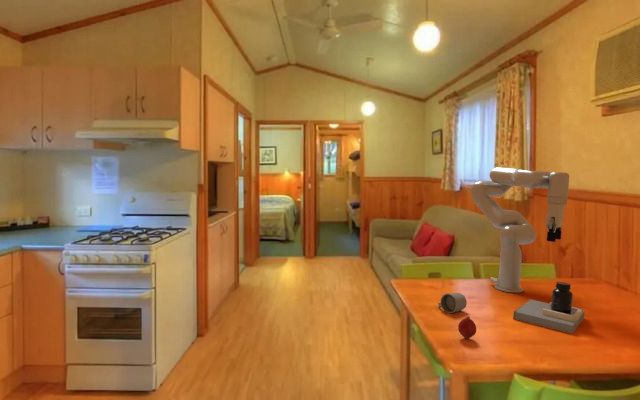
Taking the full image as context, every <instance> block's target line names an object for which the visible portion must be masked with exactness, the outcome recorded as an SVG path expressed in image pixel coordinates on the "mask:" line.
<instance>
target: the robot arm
mask: <svg viewBox="0 0 640 400" xmlns="http://www.w3.org/2000/svg"><path fill="white" fill-rule="evenodd" d="M489 179H490V180H478V181H476V182H474V183H473V184H472V186H471V189H470V196H471V199H472V201H473V203H474V204H475V205H476V207H477V208H478V209H479V210H480V211H481V212H482V213H483V215H484V216H485V217H486V219H487V220H488V221H489V222H490V223H491V225H492V226H493V227H494V228H496V229H498V230H499V229H500V231H499V242H500V244H499V245H500V252H499V253H500V255H499V270H498V277H496V278H495V277H490V278H489V281H490V282H491V283H495V284H494V288H495V289H496V290H498V291H501V292H506V293H512V294H513V293H515V294H518V293H523V292H524V289H523V287H522V286H521V275H522V274H521V273H522V258H523V253H522V249H521V247H520V245H529V244H532V243H534V242H535V241H536V239H537V232H536V230H535V228H534V226H532V224H531V223H530V222H529V221H528V220H527V218H525V217H524V215H523V214H522V213H520V212H519V211H517V210H514V209H504V208H502V207H501V205H499V203H498V202H496V201H495V200H494V199H493V198H499V197H501V196H503V195H505V194H506V193H507V192H508V191H509V190H510V189H511V188H512V187H513V186H514V187H515V186H516V187H521V188H528V189H529V188H530V189H547V198H546V199H547V200H546V204H547V205H548V207H547V211H546V218H545V227H547V233H546V241H547V242H552V243H555V242H556V241H557V240H560V241H561V239H562V226H563V224H564V219H565V218H564V215H565V206H568V199H569V197H568V196H569V186H570V185H569V184H570V174H569V172H562V171H561V172H558V171H557V172H556V171H554V172H553V171H543V170H525V169H524V170H523V169H522V168H518V167H508V166H507V167H506V166H497V167H494V168H493V169H492V170H491V171H490V173H489Z"/></svg>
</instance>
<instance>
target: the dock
mask: <svg viewBox="0 0 640 400" xmlns="http://www.w3.org/2000/svg"><path fill="white" fill-rule="evenodd" d="M551 303H552V301H550V302H549V303H548V302H543V301H540V300H535V299H528V300H527V301H526V302H524V303H523V304H521V305H520V306H519V307H518V308H516V309H515V310H514V311H513V320H517V321H519V322H520V321H521V322H524V323H529V324H531V325H535V326H538V327H539V326H541V327H544V328H548V329H552V330H556V331H559V332H563V333H567V334H571V335H572V334H573V333H574V332H575V331H576V329H578V327H579V326H580V324H581V323H582V322H583V321H584V319H585V311H584V309H583V308H579V307H575V306H572V310H571V315H569V314H565V313H561V312H556V311H552V310H551Z"/></svg>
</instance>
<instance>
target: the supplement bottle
mask: <svg viewBox="0 0 640 400" xmlns="http://www.w3.org/2000/svg"><path fill="white" fill-rule="evenodd" d="M573 296H574V293H573V292H572V291H571V283H568V282H564V281H556V283H555V288H554V289H552V294H551V302H552V303H551V310H552V311H556V312H561V313H565V314H569V315H571V310H572V307H573Z"/></svg>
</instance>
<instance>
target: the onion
mask: <svg viewBox="0 0 640 400" xmlns="http://www.w3.org/2000/svg"><path fill="white" fill-rule="evenodd" d="M457 329H458V332H459V334H460V335H461V336H462V337H463V338H464V339H465V340H468V339H471V338H473V336H475V335H476V333H477V325H476V323H475V322H474V321H473V319H471V318H470V315H469V316H465V318H462V319H461V321H459V322H458V326H457Z"/></svg>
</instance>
